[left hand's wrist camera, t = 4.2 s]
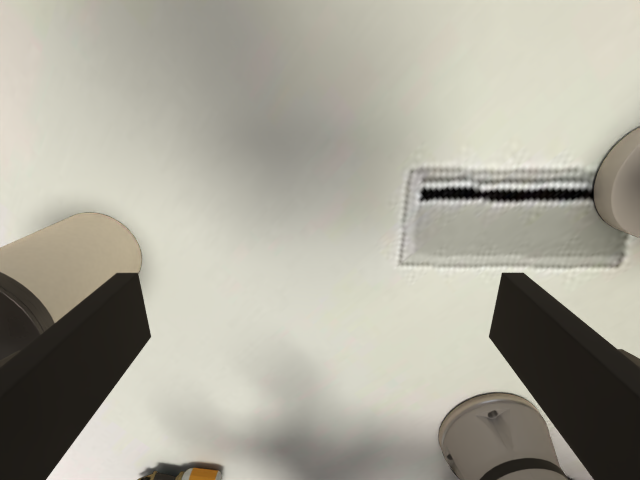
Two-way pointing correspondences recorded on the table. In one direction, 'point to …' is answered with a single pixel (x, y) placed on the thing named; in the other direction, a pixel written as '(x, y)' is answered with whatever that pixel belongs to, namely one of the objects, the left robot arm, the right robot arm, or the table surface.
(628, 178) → the bust sculpture
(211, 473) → the spray gun
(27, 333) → the lid
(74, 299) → the jar
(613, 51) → the table surface
